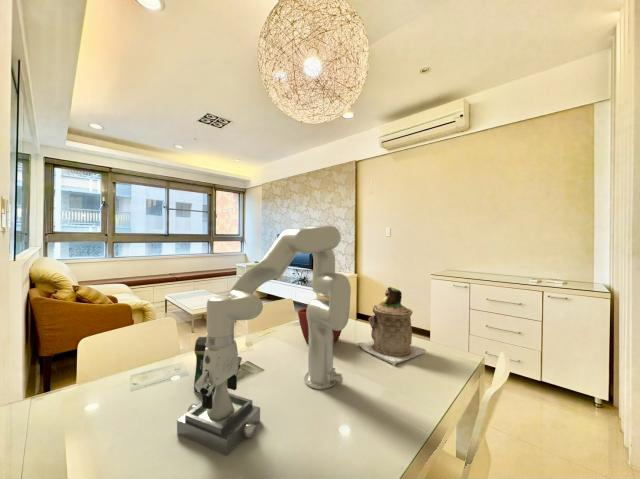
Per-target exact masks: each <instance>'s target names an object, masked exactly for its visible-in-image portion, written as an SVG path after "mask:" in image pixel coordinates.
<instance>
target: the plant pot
mask: <svg viewBox="0 0 640 479" xmlns="http://www.w3.org/2000/svg"><path fill="white" fill-rule="evenodd" d="M306 312H307V307H305V308H303V309H300V310H298V311H297V315H298V322H299V326H300V328H301V333H302V335H303V339H304V340H305V342H306V343H307V344H309V327H308V321H307V314H306ZM342 330H343V329H342ZM342 330H339V331H335V330H332V331H333V344H335V343H337V342H338V341H339V339H340V336H341V333H342Z"/></svg>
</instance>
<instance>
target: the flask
mask: <svg viewBox="0 0 640 479" xmlns="http://www.w3.org/2000/svg"><path fill="white" fill-rule="evenodd" d="M228 393H229V392H228V388H227V380H225V381H224V382H223V383H221V384H220V385H218V386H216V387H215V390H214V393H213V394H214V395H213V394H212V395H213V401H212V408H211V409H208V411H207V414H208V416H209V418H212V419H217V420H220V419H222V418H224V417H227V416H229V415H230V414H231V413H232V411H233V410H234V407H233V404H232V402H231V400H230V397H229V394H228Z"/></svg>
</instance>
